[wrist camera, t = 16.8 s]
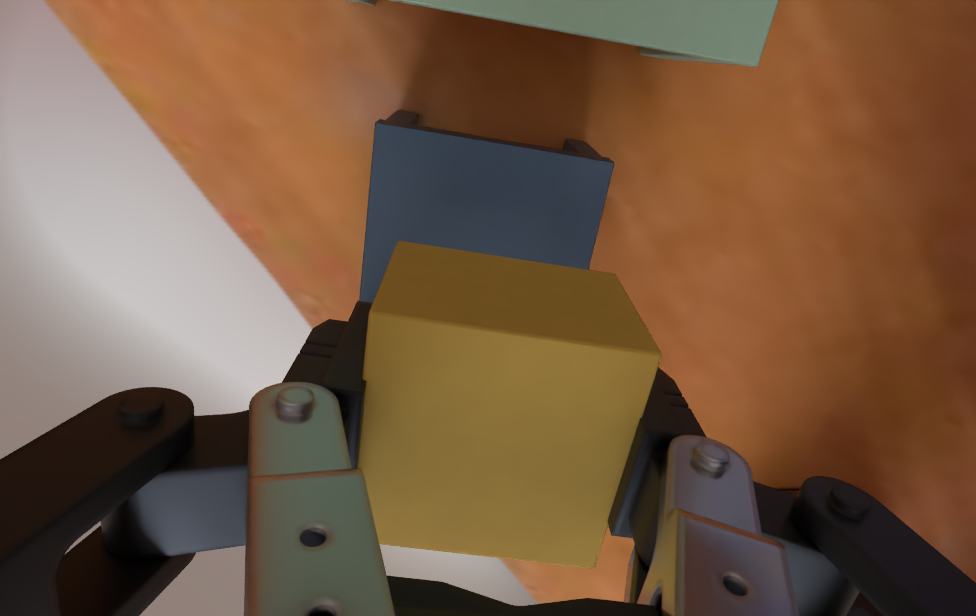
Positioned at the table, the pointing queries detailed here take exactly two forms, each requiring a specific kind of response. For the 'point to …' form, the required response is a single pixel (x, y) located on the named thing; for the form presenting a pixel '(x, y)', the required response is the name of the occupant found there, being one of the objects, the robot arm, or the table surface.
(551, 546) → the mustard yellow cube
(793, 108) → the table surface
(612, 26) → the side table
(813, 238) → the table surface
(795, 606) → the robot arm
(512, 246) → the chair
